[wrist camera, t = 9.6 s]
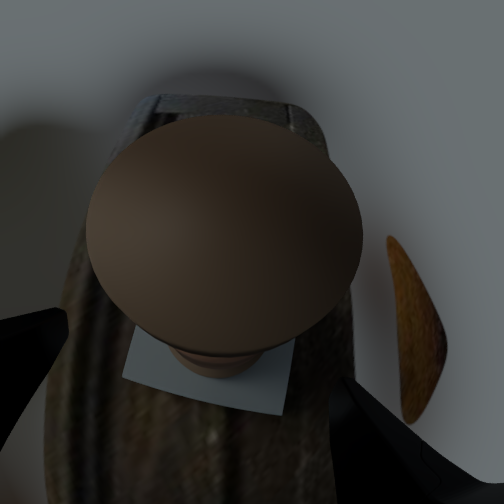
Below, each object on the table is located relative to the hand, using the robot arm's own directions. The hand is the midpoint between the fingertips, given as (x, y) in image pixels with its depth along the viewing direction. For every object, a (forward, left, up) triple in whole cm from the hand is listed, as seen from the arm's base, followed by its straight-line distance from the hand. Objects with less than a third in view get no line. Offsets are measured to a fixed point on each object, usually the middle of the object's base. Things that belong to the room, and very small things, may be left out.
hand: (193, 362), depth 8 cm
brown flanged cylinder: (+3, 0, -8) cm, 9 cm away
